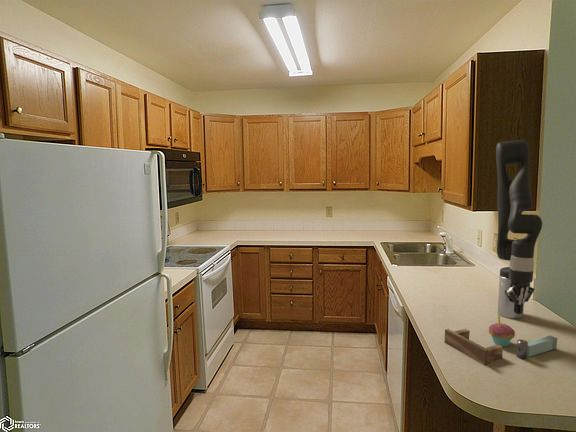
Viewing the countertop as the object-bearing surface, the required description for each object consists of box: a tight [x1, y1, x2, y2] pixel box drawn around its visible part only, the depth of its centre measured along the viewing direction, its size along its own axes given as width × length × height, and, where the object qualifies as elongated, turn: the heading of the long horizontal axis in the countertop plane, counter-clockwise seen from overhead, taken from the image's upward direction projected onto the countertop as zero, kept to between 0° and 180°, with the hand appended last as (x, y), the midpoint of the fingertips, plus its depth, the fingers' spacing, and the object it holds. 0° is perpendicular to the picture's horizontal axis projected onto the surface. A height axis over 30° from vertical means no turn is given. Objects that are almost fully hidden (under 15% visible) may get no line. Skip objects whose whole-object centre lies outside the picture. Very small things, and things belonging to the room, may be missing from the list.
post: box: [516, 339, 529, 360], centre depth 127 cm, size 3×3×6 cm
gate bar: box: [527, 335, 558, 357], centre depth 130 cm, size 14×2×4 cm, turn 112°
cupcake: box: [488, 313, 516, 347], centre depth 136 cm, size 9×8×12 cm
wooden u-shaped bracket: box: [444, 328, 504, 366], centre depth 132 cm, size 9×17×5 cm, turn 22°
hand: (518, 313), depth 139 cm, fingers closed
